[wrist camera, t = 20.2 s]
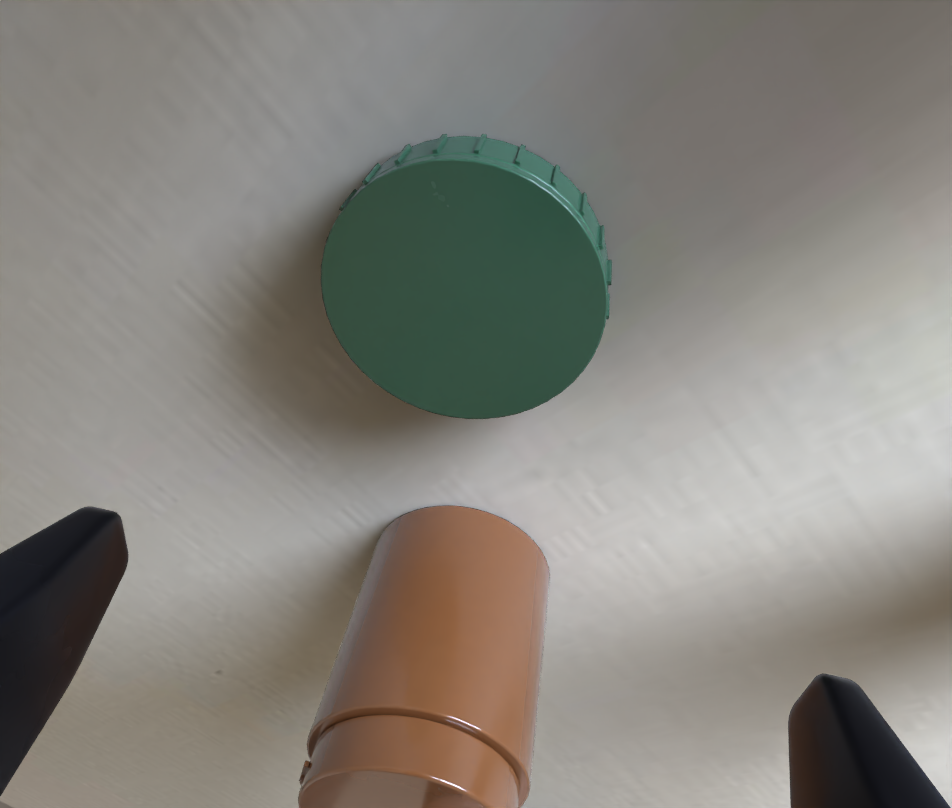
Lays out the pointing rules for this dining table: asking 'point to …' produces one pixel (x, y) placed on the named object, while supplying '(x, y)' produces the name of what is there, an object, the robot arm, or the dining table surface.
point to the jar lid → (467, 278)
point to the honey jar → (435, 671)
